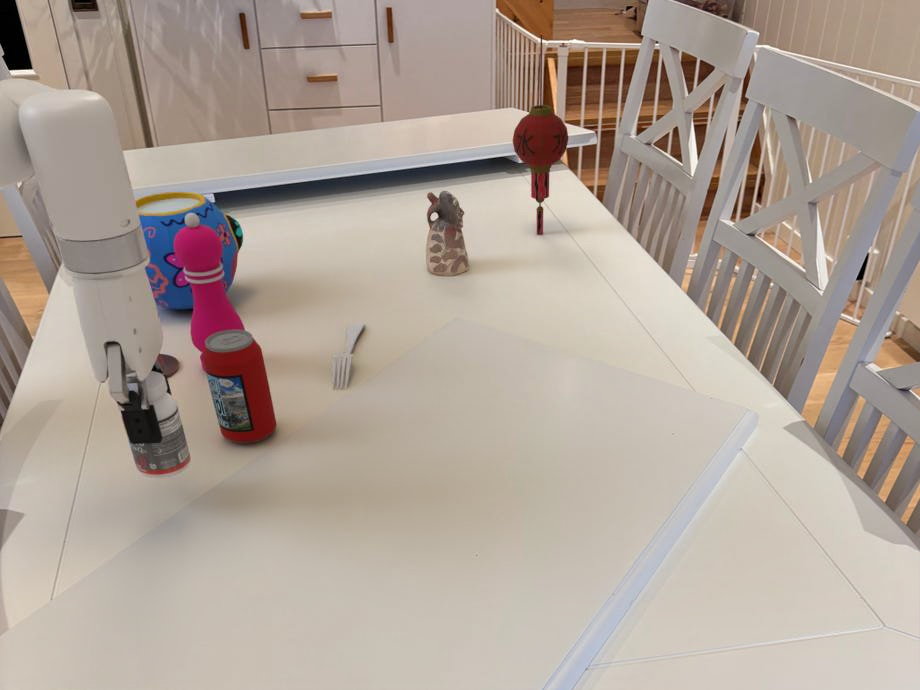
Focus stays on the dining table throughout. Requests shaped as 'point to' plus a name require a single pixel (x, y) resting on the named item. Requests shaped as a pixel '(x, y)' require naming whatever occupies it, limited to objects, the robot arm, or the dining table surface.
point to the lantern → (540, 147)
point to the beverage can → (239, 386)
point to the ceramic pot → (160, 228)
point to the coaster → (166, 365)
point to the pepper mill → (205, 281)
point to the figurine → (445, 237)
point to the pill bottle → (173, 447)
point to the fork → (345, 355)
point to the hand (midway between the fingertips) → (153, 424)
